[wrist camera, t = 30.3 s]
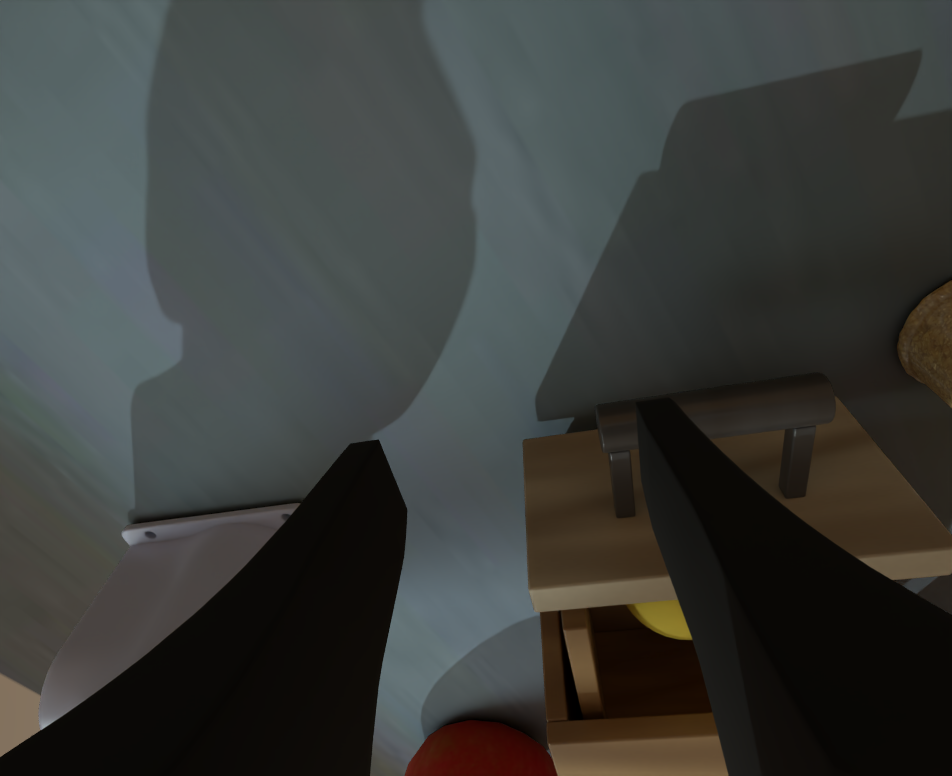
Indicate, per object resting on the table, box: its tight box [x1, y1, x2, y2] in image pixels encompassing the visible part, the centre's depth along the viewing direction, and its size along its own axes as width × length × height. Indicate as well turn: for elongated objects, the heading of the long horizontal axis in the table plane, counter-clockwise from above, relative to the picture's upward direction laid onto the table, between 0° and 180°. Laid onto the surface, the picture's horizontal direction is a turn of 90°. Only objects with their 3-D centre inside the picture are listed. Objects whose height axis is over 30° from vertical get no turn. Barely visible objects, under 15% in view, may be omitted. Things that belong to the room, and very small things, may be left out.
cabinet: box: [540, 610, 729, 776], centre depth 26 cm, size 14×13×9 cm
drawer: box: [523, 372, 952, 720], centre depth 20 cm, size 17×11×7 cm
